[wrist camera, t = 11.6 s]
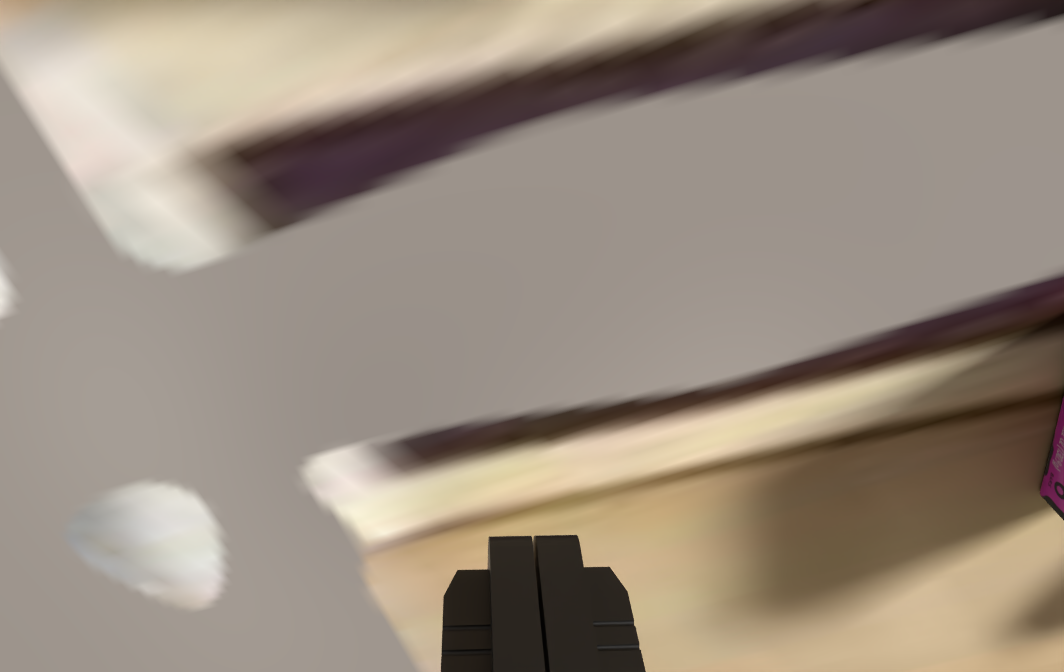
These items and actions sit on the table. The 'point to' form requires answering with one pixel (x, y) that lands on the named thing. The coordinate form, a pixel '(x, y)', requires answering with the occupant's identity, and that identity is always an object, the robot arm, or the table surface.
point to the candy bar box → (1055, 470)
